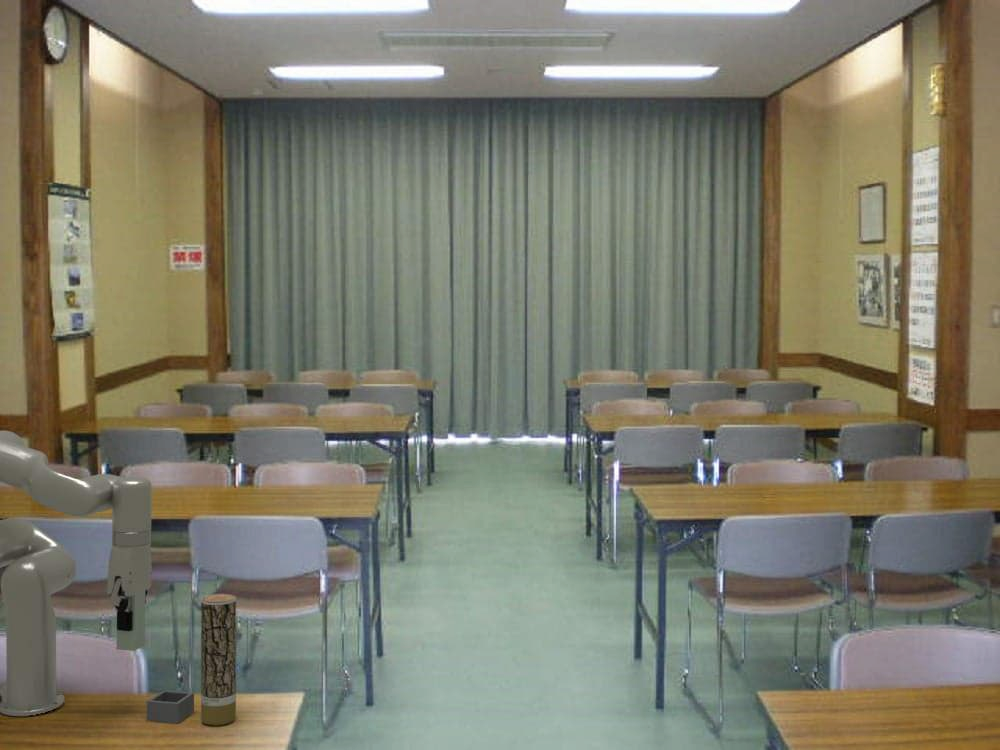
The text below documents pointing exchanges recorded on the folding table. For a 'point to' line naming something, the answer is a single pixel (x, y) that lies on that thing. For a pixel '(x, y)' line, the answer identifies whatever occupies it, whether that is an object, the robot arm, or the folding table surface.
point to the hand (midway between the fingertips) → (130, 626)
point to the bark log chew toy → (218, 659)
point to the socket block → (170, 706)
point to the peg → (134, 625)
